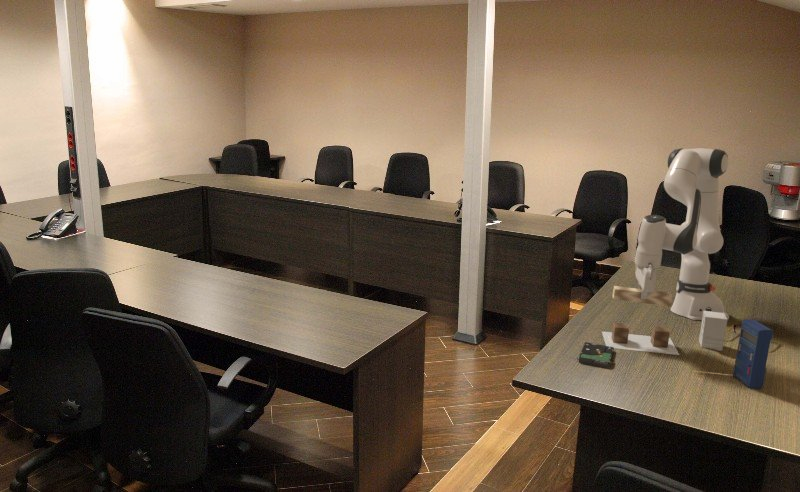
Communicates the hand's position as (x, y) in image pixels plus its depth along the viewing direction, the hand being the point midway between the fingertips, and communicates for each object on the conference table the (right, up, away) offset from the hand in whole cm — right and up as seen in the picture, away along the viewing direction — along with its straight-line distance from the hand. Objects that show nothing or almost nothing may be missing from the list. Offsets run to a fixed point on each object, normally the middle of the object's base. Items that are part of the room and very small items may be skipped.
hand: (642, 296), depth 232 cm
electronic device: (+24, -26, -26) cm, 44 cm away
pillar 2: (+7, -18, +1) cm, 19 cm away
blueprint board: (0, -18, +2) cm, 18 cm away
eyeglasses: (+43, -19, +9) cm, 48 cm away
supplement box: (+26, -19, +3) cm, 32 cm away
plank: (0, -2, 0) cm, 2 cm away
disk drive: (-20, -21, -10) cm, 31 cm away
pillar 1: (-7, -17, +4) cm, 19 cm away
